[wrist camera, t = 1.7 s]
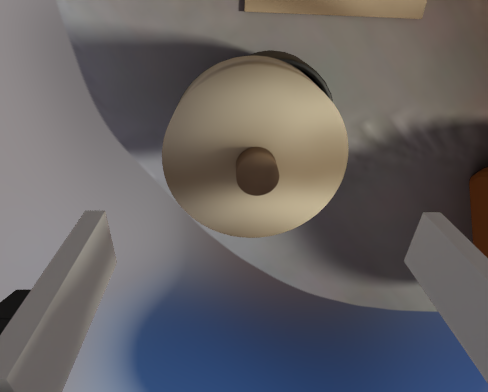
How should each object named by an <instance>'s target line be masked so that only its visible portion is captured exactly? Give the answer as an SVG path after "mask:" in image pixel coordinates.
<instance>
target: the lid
mask: <svg viewBox="0 0 488 392" xmlns="http://www.w3.org/2000/svg"><path fill="white" fill-rule="evenodd" d="M347 160H348V138H347V132H346V129H345V125H344V122H343V120H342V118H341V115H340V113H339V111H338V110H337V108H336V107H335V105H334V104H333V102H332V101H331V100H330V99H329V98H328V96H327V95H326V94H325V93H324V92H323V91H322V90H321V89H320V88H319V87H318V86H317V85H316V84H315V83H314V82H313V81H312V80H311V79H310V78H309V77H307V76H306V75H305V74H304V73H303V72H301V71H300V70H299V69H297V68H295V67H294V66H292V65H291V64H288V63H286V62H284V61H281V60H279V59H275V58H271V57H266V56H257V55H256V56H241V57H235V58H231V59H228V60H225V61H222V62H220V63H218V64H216V65H214V66H212V67H210V68H209V69H207V70H206V71H204V72H203V73H202V74H201V75H199V76H198V77H197V78H196V79H195V80H194V81H193V82H192V83H191V85H190V86H189V87H188V88H187V89H186V91H185V93H184V94H183V96H182V97H181V99H180V101H179V103H178V105H177V108H176V110H175V112H174V114H173V116H172V118H171V120H170V122H169V125H168V127H167V129H166V133H165V137H164V140H163V148H162V164H163V170H164V175H165V178H166V181H167V184H168V187H169V189H170V191H171V193H172V195H173V196H174V198H175V199H176V201H177V202H178V204H179V205H180V206H181V207H182V208H183V209H184V210H185V211H186V212H187V213H188V214H189V215H190V216H191V217H192V218H194V219H195V220H196V221H198V222H199V223H201V224H203V225H204V226H206V227H208V228H210V229H212V230H215V231H217V232H220V233H223V234H227V235H231V236H237V237H248V238H255V237H266V236H272V235H276V234H280V233H284V232H286V231H289V230H292V229H294V228H296V227H298V226H300V225H302V224H303V223H305V222H307V221H308V220H310V219H311V218H312V217H314V216H315V215H316V214H318V213H319V212H320V211H321V210H322V209H323V208H324V207H325V206H326V205H327V204H328V202H329V201H330V200H331V199H332V197H333V196H334V194H335V193H336V191H337V189H338V188H339V186H340V184H341V181H342V179H343V177H344V173H345V170H346V166H347Z"/></svg>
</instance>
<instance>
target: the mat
mask: <svg viewBox="0 0 488 392" xmlns="http://www.w3.org/2000/svg"><path fill="white" fill-rule="evenodd" d="M426 2H427V0H245V9H244V11H245V12H268V13H292V14H316V15H340V16H364V17H388V18H412V19H422V16H423V13H424V9H425V6H426Z"/></svg>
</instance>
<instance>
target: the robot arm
mask: <svg viewBox="0 0 488 392" xmlns="http://www.w3.org/2000/svg"><path fill="white" fill-rule="evenodd" d="M404 262H405V264H406V265H407V267H408V268H409V269H410V271H411V272H412V274H413V275H414V277H415V278H416V280H417V281H418V283H419V284H420V285H421V287H422V288H423V290H424V291H425V293H426V294H427V296H428V297H429V298H430V300H431V301H432V303H433V304H434V306H435V307H436V309H437V310H438V312H439V313H440V314H441V316H442V317H443V319H444V320H445V322H446V323H447V324H448V326H449V327H450V329H451V330H452V332H453V333H454V335H455V336H456V337H457V339H458V341H459V342H460V344H461V345H462V346H463V348H464V349H465V351H466V352H467V354H468V355H469V357H470V358H471V359H472V361H473V362H474V364H475V365H476V367H477V368H478V369H479V371H480V372H481V374H482V375H483V377H484V378H485V380H486V381H487V383H488V258H487V257H486V256H485V255H484V254H483V253H482V252H481V251H480V250H479V249H478V248H477V247H476V246H475V245H474V244H473V243H472V242H471V241H470V240H468V239H467V238H466V237H465V236H464V235H463V234H462V233H461V232H460V231H459V230H458V229H457V228H456V227H455V226H454V225H453V224H452V223H451V222H450V221H449V220H448V219H447V218H446V217H445V216H444V215H443V214H442V213H441V212H423V214H422V216H421V219H420V221H419V224H418V226H417V229H416V231H415V234H414V236H413V239H412V241H411V244H410V246H409V249H408V252H407V254H406V257H405V259H404ZM116 263H117V261H116V256H115V252H114V248H113V243H112V239H111V234H110V230H109V226H108V221H107V217H106V212H105V211H85V212H84V213H83V215H82V216H81V218H80V219H79V221H78V222H77V224H76V225H75V227H74V228H73V230H72V231H71V233H70V234H69V235H68V237H67V238H66V240H65V241H64V243H63V244H62V246H61V247H60V249H59V250H58V252H57V253H56V254H55V256H54V258H53V259H52V260H51V262H50V263H49V265H48V266H47V268H46V269H45V270H44V272H43V273H42V275H41V276H40V278H39V279H38V281H37V282H36V284H35V285H34V287H33V288H32V289H31V290H16V291H14V292H13V293H12V294H10V295H9V296H8V297H7V298H5V299H4V300H3V301H2V302H0V392H62V390H63V388H64V386H65V384H66V381H67V379H68V376H69V374H70V372H71V369H72V367H73V365H74V362H75V360H76V358H77V355H78V353H79V350H80V348H81V346H82V343H83V341H84V339H85V336H86V334H87V332H88V329H89V327H90V325H91V322H92V320H93V318H94V315H95V313H96V311H97V308H98V306H99V303H100V301H101V299H102V296H103V294H104V292H105V289H106V287H107V285H108V282H109V280H110V277H111V275H112V273H113V270H114V268H115V266H116Z"/></svg>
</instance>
